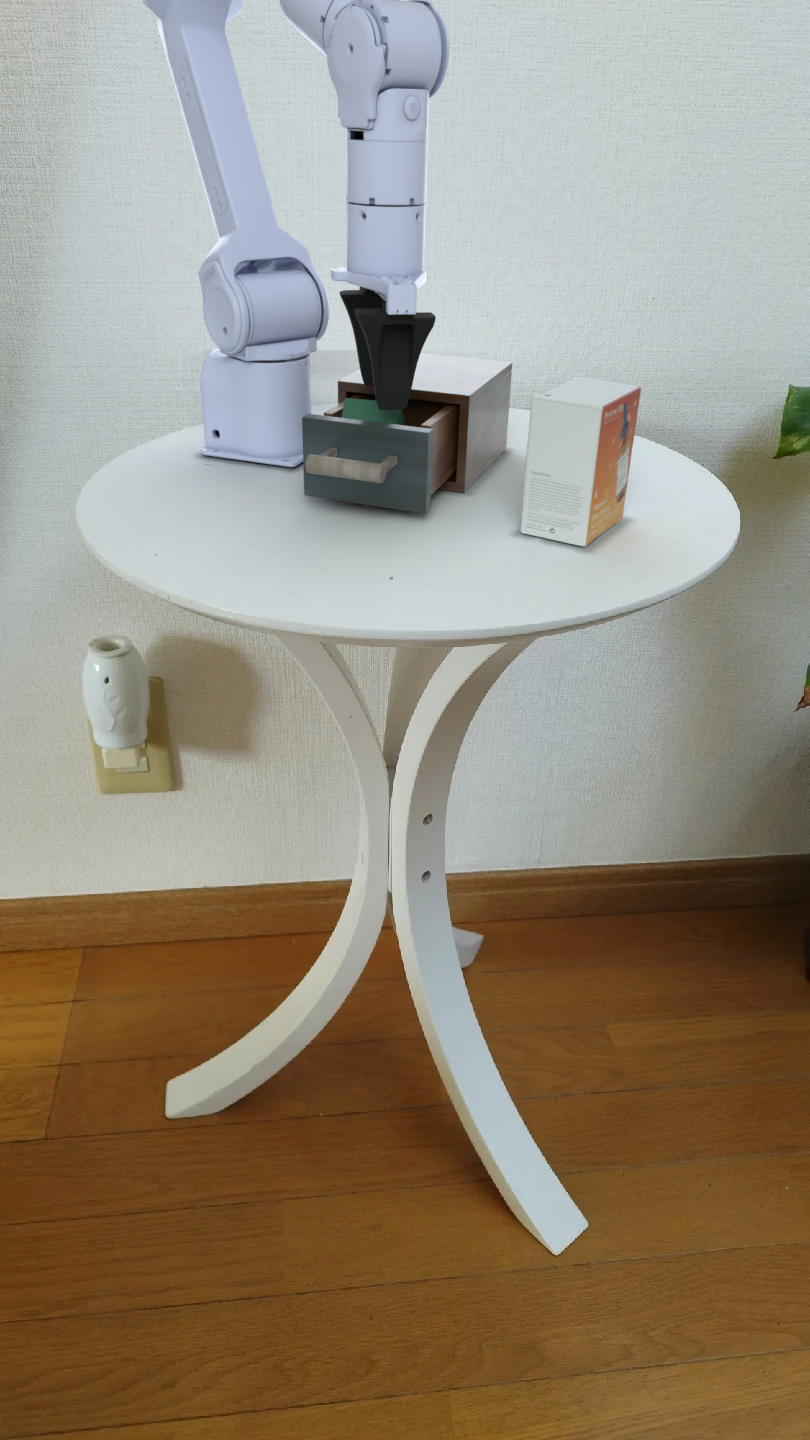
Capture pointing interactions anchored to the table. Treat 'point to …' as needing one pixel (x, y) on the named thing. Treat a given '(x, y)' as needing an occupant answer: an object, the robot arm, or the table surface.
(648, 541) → the table surface
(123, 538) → the table surface
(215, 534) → the table surface
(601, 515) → the small box
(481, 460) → the cabinet
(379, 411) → the green cube
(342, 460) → the drawer
